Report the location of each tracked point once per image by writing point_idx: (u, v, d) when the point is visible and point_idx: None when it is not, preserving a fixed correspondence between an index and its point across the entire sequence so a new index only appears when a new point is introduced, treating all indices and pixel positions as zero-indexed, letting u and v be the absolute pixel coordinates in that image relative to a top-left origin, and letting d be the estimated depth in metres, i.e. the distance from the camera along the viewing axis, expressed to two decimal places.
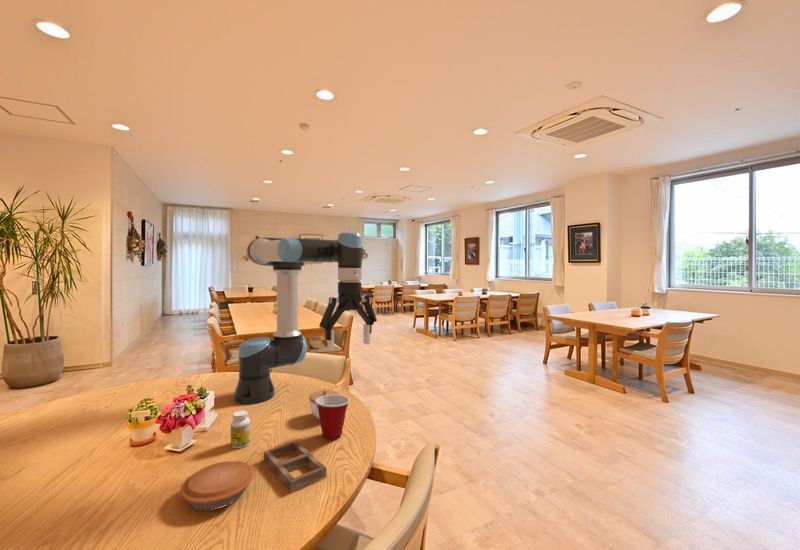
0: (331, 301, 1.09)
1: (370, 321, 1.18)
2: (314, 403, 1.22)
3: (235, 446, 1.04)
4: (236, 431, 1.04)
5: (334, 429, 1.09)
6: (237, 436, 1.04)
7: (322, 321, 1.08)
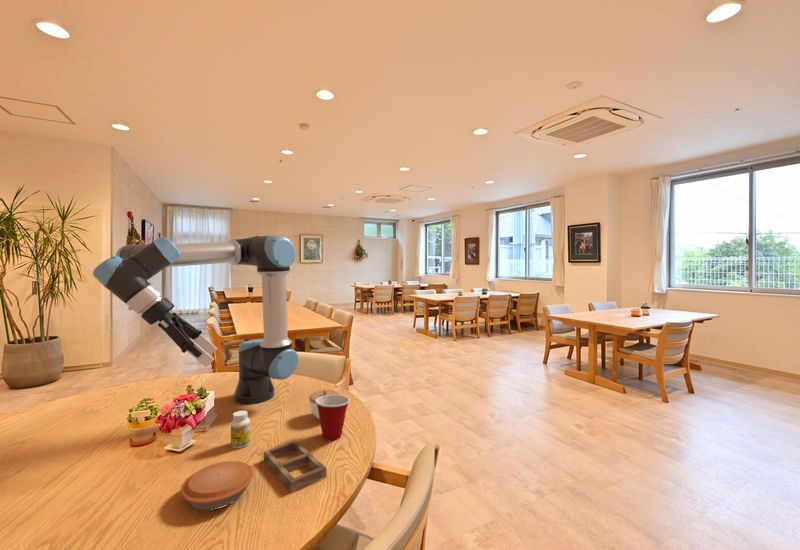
0: None
1: None
2: (314, 403, 1.22)
3: (235, 446, 1.04)
4: (236, 431, 1.04)
5: (334, 429, 1.09)
6: (237, 436, 1.04)
7: None
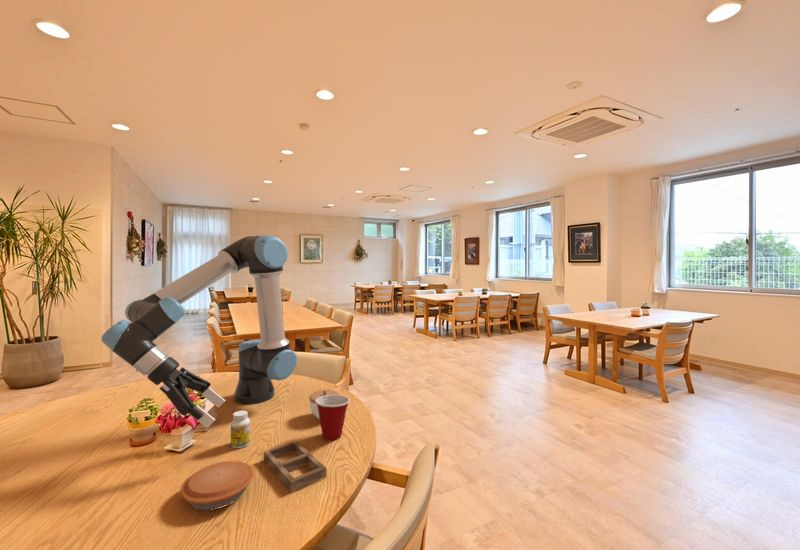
0: None
1: None
2: (314, 403, 1.22)
3: (235, 446, 1.04)
4: (236, 431, 1.04)
5: (334, 429, 1.09)
6: (237, 436, 1.04)
7: None
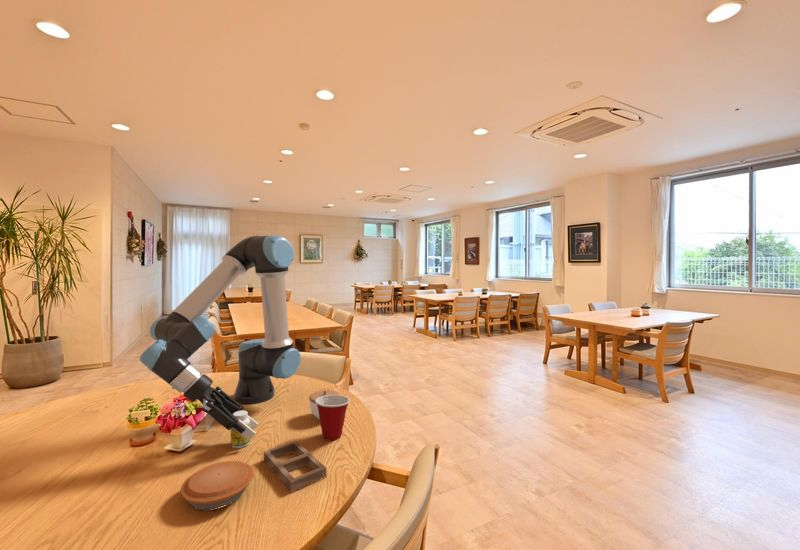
0: None
1: None
2: (314, 403, 1.22)
3: (235, 446, 1.04)
4: (236, 431, 1.04)
5: (334, 429, 1.09)
6: (237, 436, 1.04)
7: None
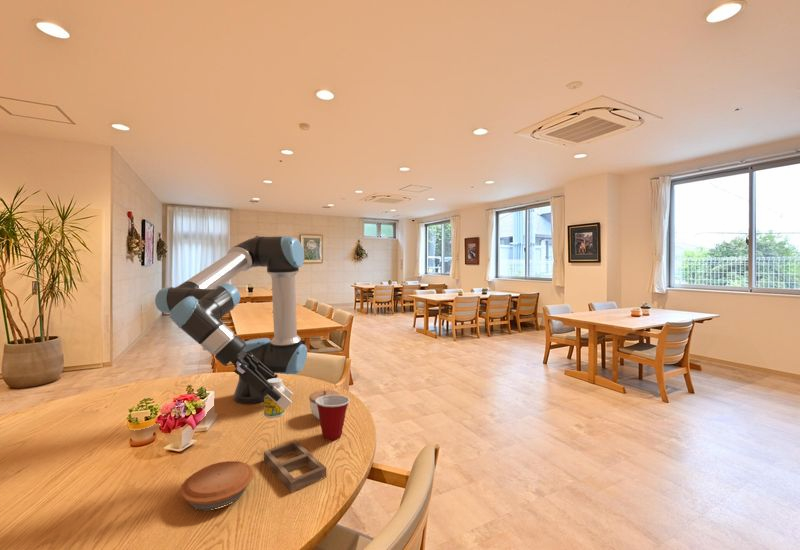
0: None
1: None
2: (314, 403, 1.22)
3: (269, 416, 0.95)
4: None
5: (334, 429, 1.09)
6: (271, 404, 0.95)
7: None
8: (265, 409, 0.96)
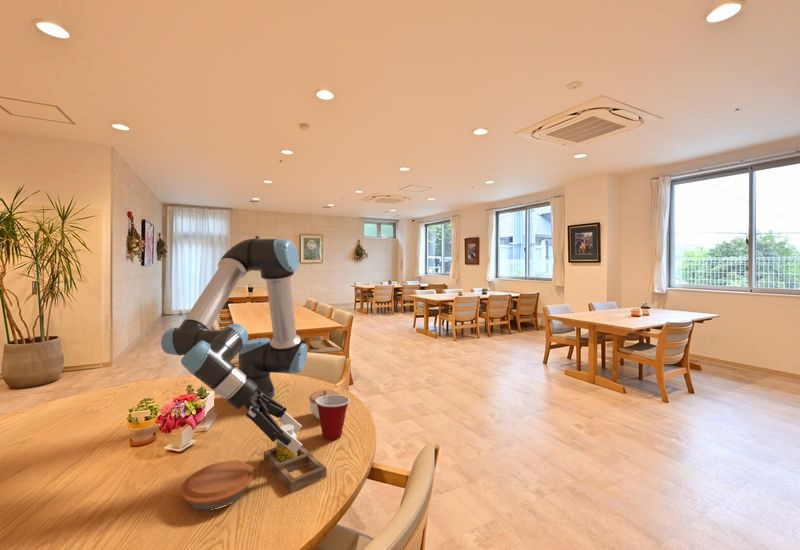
0: None
1: None
2: (314, 403, 1.22)
3: None
4: (284, 447, 0.95)
5: (334, 429, 1.09)
6: (284, 452, 0.96)
7: None
8: (278, 457, 0.96)
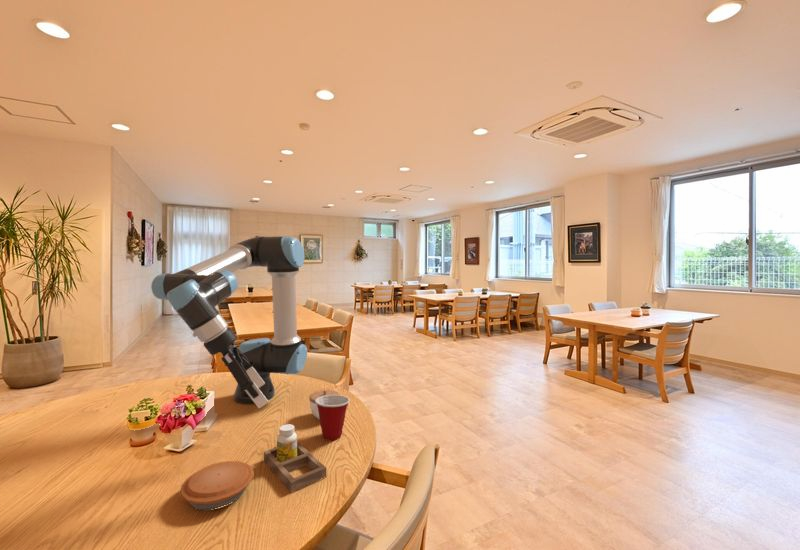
0: None
1: None
2: (314, 403, 1.22)
3: None
4: (284, 447, 0.96)
5: (334, 429, 1.09)
6: (284, 452, 0.96)
7: None
8: (278, 457, 0.96)
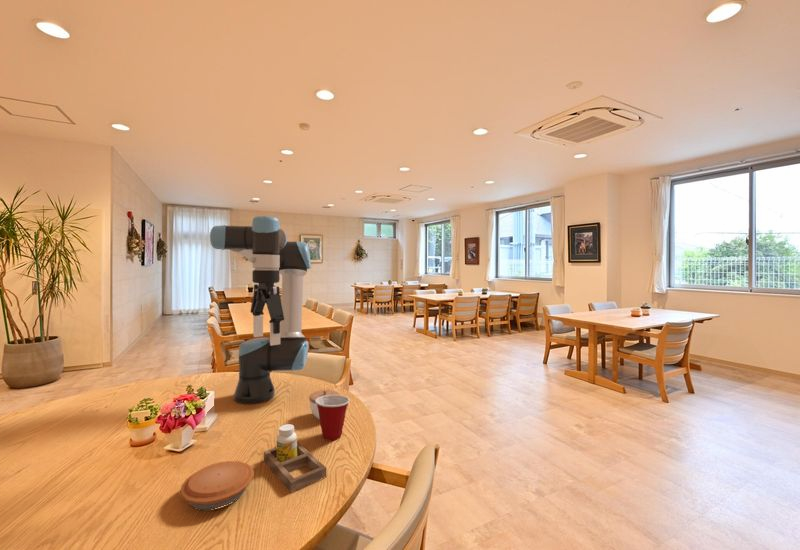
0: None
1: (271, 318, 0.99)
2: (314, 403, 1.22)
3: None
4: (284, 447, 0.96)
5: (334, 429, 1.09)
6: (284, 452, 0.96)
7: None
8: (278, 457, 0.96)
